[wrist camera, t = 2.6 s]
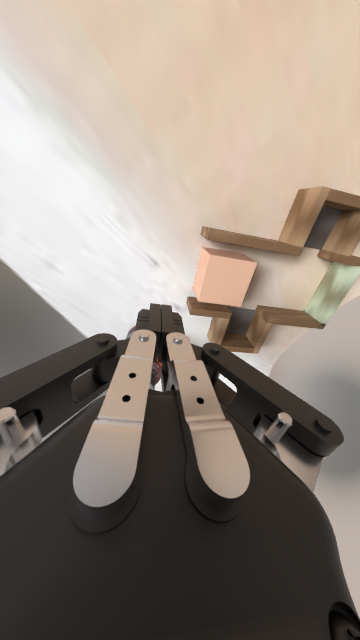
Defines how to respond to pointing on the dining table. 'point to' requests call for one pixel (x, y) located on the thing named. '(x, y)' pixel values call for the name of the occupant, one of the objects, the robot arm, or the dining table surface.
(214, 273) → the block
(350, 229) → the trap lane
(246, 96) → the dining table surface
